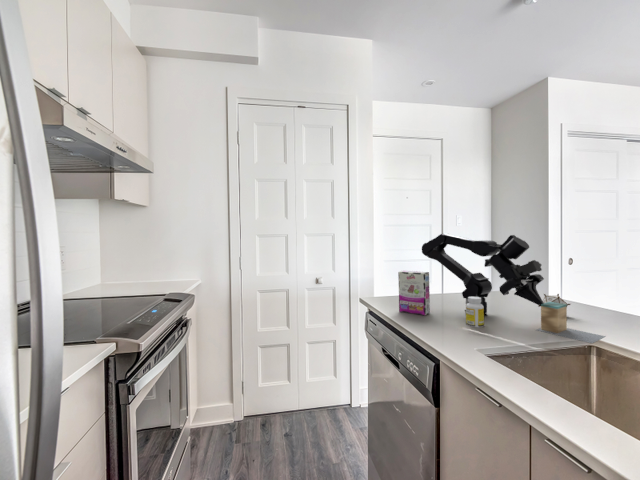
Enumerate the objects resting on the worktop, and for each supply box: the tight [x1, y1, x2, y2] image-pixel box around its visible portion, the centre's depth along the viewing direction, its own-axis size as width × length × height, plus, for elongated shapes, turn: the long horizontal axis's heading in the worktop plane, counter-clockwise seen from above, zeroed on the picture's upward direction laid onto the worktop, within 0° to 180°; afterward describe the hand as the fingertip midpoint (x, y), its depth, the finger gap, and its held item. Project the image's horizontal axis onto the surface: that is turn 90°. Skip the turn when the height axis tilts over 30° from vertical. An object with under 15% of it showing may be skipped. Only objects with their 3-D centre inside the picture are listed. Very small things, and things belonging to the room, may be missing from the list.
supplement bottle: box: [465, 297, 485, 328], centre depth 103 cm, size 5×5×10 cm
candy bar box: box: [397, 270, 431, 316], centre depth 122 cm, size 11×5×16 cm, turn 49°
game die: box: [538, 293, 572, 308], centre depth 113 cm, size 9×8×10 cm
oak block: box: [540, 302, 568, 333], centre depth 96 cm, size 4×6×8 cm
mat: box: [535, 327, 606, 344], centre depth 93 cm, size 14×10×1 cm
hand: (542, 304), depth 99 cm, fingers closed
